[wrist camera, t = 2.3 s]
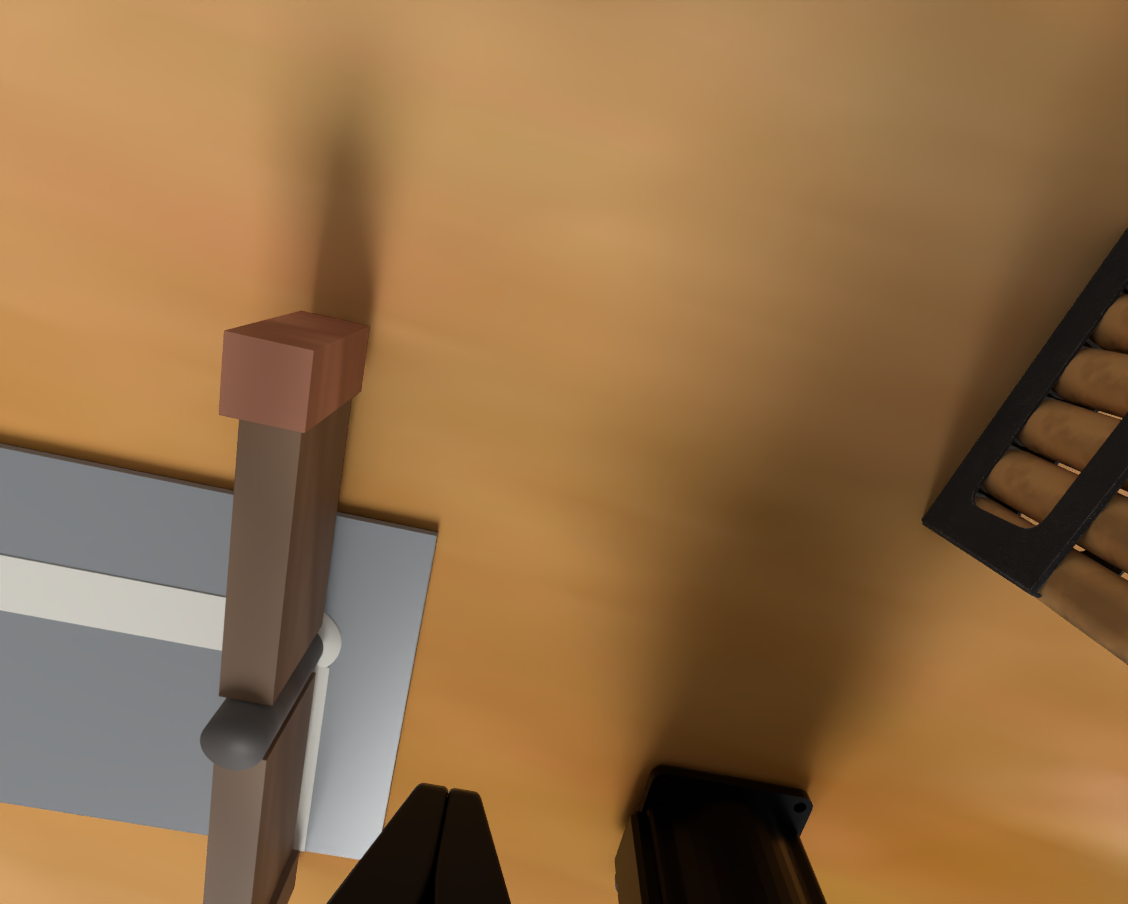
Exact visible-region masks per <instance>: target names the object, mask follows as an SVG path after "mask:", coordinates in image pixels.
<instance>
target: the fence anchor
mask: <svg viewBox="0 0 1128 904" xmlns="http://www.w3.org/2000/svg"><path fill="white" fill-rule="evenodd" d="M322 653H323V642H322V639H321V637H320V636H319V634H318V633H317V634H316V636H315V638H314V639H313V641H312V642H311V644H310V646H309V647H308V649H307V651H306V652H305V654H304V655H303V657H302V659H301V660H300V662H299V663H298V665H297V667H296V668H295V670H294V672H293V673H292V675H291V676H290V678H289V680H288V681H287V683H286V684H285V686H284V688H283V689H282V691H281V693H280V694H279V696H278V697H277V699H276V701H275V702H274V704H273V706H270V705H265V704H259V703H253V702H248V701H242V700H237V699H231V698H226V699H225V700H224V702H223V703H222V705H221V706H220V707H219V709H218V710H217V711H216V713H215V714H214V716H213V717H212V718H211V720H210V721H209V722H208V724H207V725H206V726H205V728H204V729H203V731H202V733H201V736H200V745H201V748H202V751H203V753H204V754H205V755H206V757H207V758H208V759H209V760H210V761H212V762H213V763H214V765H213V778H212V792H211V805H210V819H209V832H208V846H207V859H206V873H205V886H204V899H203V904H288V901H289V899H290V896H291V894H292V891H293V889H294V886H295V879H296V871H297V864H298V857H299V850H294V849H293V845H294V837H295V830H296V822H297V814H298V807H299V799H300V791H301V784H302V776H303V768H304V761H305V753H306V745H307V738H308V730H309V722H310V715H311V707H312V699H313V692H314V684H315V676H316V673H314V672H313V670H314V668H315V666H316V665H317V663H318V661H319V659H320V658H321V656H322Z"/></svg>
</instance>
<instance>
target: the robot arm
mask: <svg viewBox="0 0 1128 904" xmlns="http://www.w3.org/2000/svg"><path fill="white" fill-rule="evenodd" d="M661 779H666V780H663V781H661ZM797 803H798V804H797ZM812 807H813V805H812V802H811V800H810V798H809V796H808V794H807V793H806V792H805V791H803V790H801V789H795V788H790V787H784V786H778V785H773V784H767V783H762V782H756V781H750V780H745V779H739V778H734V777H728V776H722V775H717V774H711V773H706V772H700V771H694V770H689V769H683V768H678V767H672V766H666V765H661V766H658V767H656V768H654V769H653V770H652V772H651V773H650V776H649V779H648V782H647V785H646V788H645V791H644V794H643V796H642V799H641V802H640V805H639V808H638V811H634V812H633V813H632V814H631V815H630V817H629V820H628V822H627V825H626V828H625V831H624V834H623V837H622V840H621V843H620V846H619V849H618V852H617V855H616V858H615V868H616V874H615V886H616V890H617V892H618V900H619V904H827V903H826V900H825V898H824V895H823V893H822V890H821V888H820V885H819V883H818V881H817V878H816V876H815V873H814V871H813V868H812V866H811V863H810V861H809V859H808V856H807V854H806V851H805V849H804V846H803V844H802V841H801V839H800V835H801V833H802V831H803V828H804V826H805V824H806V822H807V820H808V817H809V815H810V813H811V811H812ZM327 904H511V902H510V898H509V895H508V891H507V888H506V884H505V881H504V877H503V874H502V870H501V867H500V863H499V860H498V856H497V853H496V849H495V846H494V842H493V839H492V835H491V832H490V828H489V824H488V821H487V817H486V814H485V810H484V807H483V803H482V800H481V797H480V795H479V794H478V793H477V792H474V791H469V790H463V789H457V788H453V789H451V790H450V791H449V793H448V789H447V788H446V787H444V786H439V785H433V784H427V783H421V784H419V785H418V786H417V787H416V788H415V789H414V790H413V791H412V793H411V794H410V795H409V797H408V798H407V799H406V801H405V802H404V803H403V804H402V806H401V807H400V808H399V810H398V811H397V812H396V814H395V815H394V816H393V817H392V819H391V820H390V821H389V823H388V824H387V825H386V827H385V828H384V829H383V831H382V832H381V833H380V834H379V836H378V837H377V838H376V840H375V841H374V842H373V844H372V845H371V846H370V848H369V849H368V850H367V851H366V853H365V854H364V855H363V857H362V858H361V859H360V861H359V862H358V863H357V864H356V866H355V867H354V868H353V870H352V871H351V872H350V874H349V875H348V876H347V878H346V879H345V880H344V881H343V883H342V884H341V885H340V887H339V888H338V889H337V891H336V892H335V893H334V895H333V896H332V897H331V898H330V900H329V901H328V902H327Z"/></svg>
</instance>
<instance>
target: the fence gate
mask: <svg viewBox="0 0 1128 904" xmlns="http://www.w3.org/2000/svg"><path fill="white" fill-rule="evenodd" d="M369 329H370V326H366V325H362V324H358V323H353V322H349V321H344V320H340V319H336V318H331V317H327V316H322V315H318V314H314V313H309V312H305V311H298V312H295V313H291V314H287V315H283V316H279V317H275V318H271V319H267V320H264V321H260V322H256V323H252V324H248V325H244V326H240V327H236V328H233V329H229V330H225V331H224V340H223V355H222V371H221V387H220V402H219V415H222V416H226V417H231V418H236V419H239V429H238V442H237V456H236V469H235V483H234V496H233V510H232V523H231V536H230V550H229V563H228V577H227V590H226V604H225V617H224V631H223V644H222V657H221V671H220V684H219V696H220V697H225V698H231V699H237V700H242V701H248V702H253V703H259V704H265V705H270V706H273V704H274V702H275V701H276V699H277V697H278V696H279V694H280V693H281V691H282V689H283V688H284V686H285V684H286V683H287V681H288V680H289V678H290V676H291V675H292V673H293V672H294V670H295V668H296V667H297V665H298V663H299V662H300V660H301V659H302V657H303V655H304V654H305V652H306V651H307V649H308V647H309V646H310V644H311V642H312V641H313V639H314V638H315V636H316V634H317V633H318V631H319V629H320V628H321V626H322V622H323V615H324V607H325V599H326V592H327V584H328V576H329V569H330V561H331V553H332V546H333V538H334V530H335V523H336V515H337V507H338V500H339V492H340V484H341V477H342V469H343V461H344V454H345V446H346V438H347V430H348V423H349V415H350V407H351V400H352V398H353V397H354V396H355V395H357V394H358V393H359V392H361V388H362V381H363V373H364V366H365V358H366V351H367V343H368V336H369Z"/></svg>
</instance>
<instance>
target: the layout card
mask: <svg viewBox="0 0 1128 904" xmlns="http://www.w3.org/2000/svg"><path fill="white" fill-rule="evenodd" d="M233 496H234V491H233V490H228V489H223V488H218V487H213V486H208V485H203V484H198V483H193V482H188V481H183V480H178V479H173V478H169V477H164V476H159V475H154V474H149V473H144V472H139V471H134V470H129V469H124V468H119V467H114V466H110V465H105V464H100V463H95V462H90V461H85V460H80V459H75V458H70V457H65V456H60V455H55V454H50V453H46V452H41V451H36V450H31V449H26V448H21V447H16V446H11V445H6V444H1V443H0V802H2V803H8V804H14V805H21V806H27V807H33V808H39V809H46V810H52V811H58V812H64V813H71V814H77V815H83V816H89V817H96V818H102V819H108V820H114V821H121V822H127V823H133V824H140V825H146V826H152V827H158V828H165V829H171V830H177V831H183V832H190V833H196V834H202V835H208V832H209V819H210V805H211V792H212V778H213V765H214V763H213V762H212V761H210V760H209V759H208V758H207V757H206V755H205V754H204V753H203V751H202V748H201V745H200V736H201V733H202V731H203V729H204V728H205V726H206V725H207V724H208V722H209V721H210V720H211V718H212V717H213V716H214V714H215V713H216V711H217V710H218V709H219V707H220V706H221V705H222V703H223V702H224V700H225V699H226V698H225V697H220V696H219V684H220V671H221V657H222V644H223V631H224V617H225V604H226V590H227V577H228V563H229V550H230V536H231V523H232V510H233ZM437 537H438V532H434V531H429V530H424V529H420V528H415V527H410V526H405V525H400V524H395V523H390V522H385V521H380V520H375V519H370V518H365V517H360V516H356V515H351V514H346V513H341V512H337V515H336V523H335V530H334V538H333V546H332V553H331V561H330V569H329V576H328V584H327V592H326V599H325V607H324V615H323V622H322V626H321V628H320V629H319V631H318V634H319V636H320V637H321V639H322V642H323V653H322V656H321V658H320V659H319V661H318V663H317V665H316V666H315V668H314V670H313V672H314V673H316V676H315V684H314V692H313V699H312V707H311V715H310V722H309V730H308V738H307V745H306V753H305V761H304V768H303V776H302V784H301V791H300V799H299V807H298V814H297V822H296V830H295V837H294V845H293V849H294V850H299V851H302V852H304V851H309V852H315V853H321V854H327V855H334V856H340V857H346V858H352V859H359V860H360V859H361V858H362V857H363V855H364V854H365V853H366V851H367V850H368V849H369V848H370V846H371V845H372V844H373V842H374V841H375V840H376V838H377V837H378V836H379V834H380V833H381V832H382V831H383V827H384V821H385V816H386V810H387V805H388V800H389V794H390V789H391V784H392V778H393V773H394V768H395V762H396V757H397V752H398V746H399V741H400V735H401V730H402V725H403V719H404V714H405V709H406V703H407V698H408V693H409V687H410V682H411V676H412V671H413V666H414V660H415V655H416V650H417V644H418V639H419V634H420V628H421V623H422V617H423V612H424V607H425V601H426V596H427V591H428V585H429V580H430V575H431V569H432V564H433V558H434V553H435V548H436V542H437Z"/></svg>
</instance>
